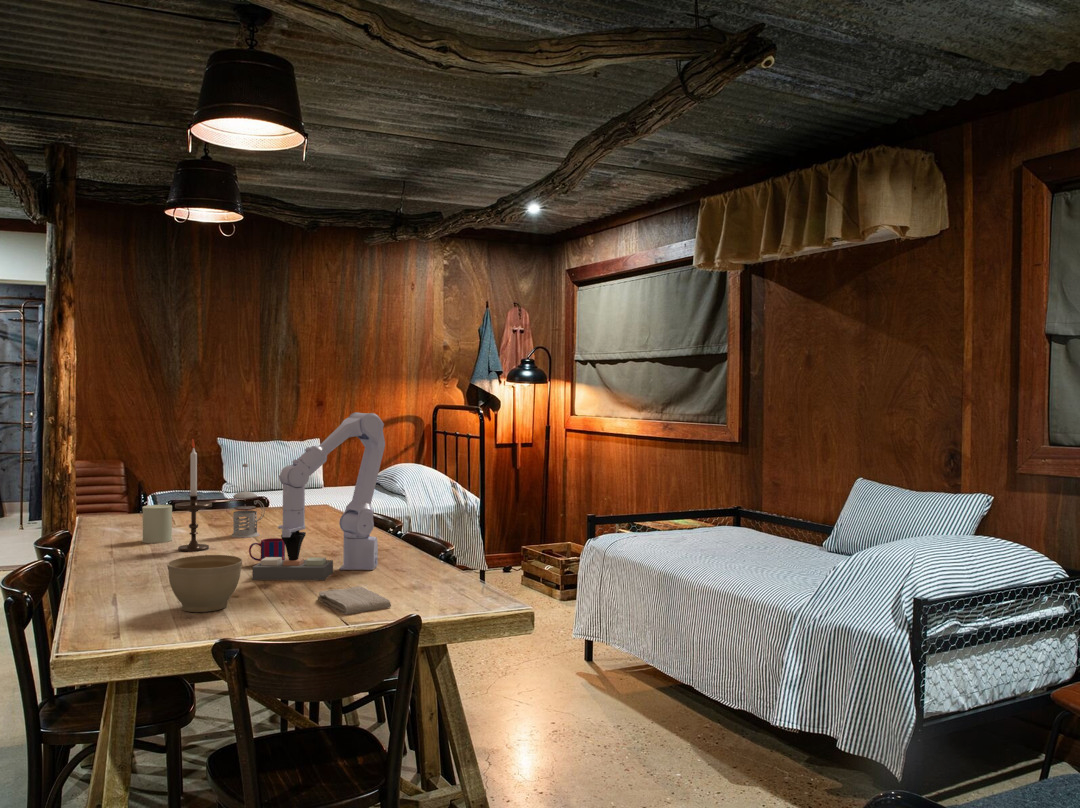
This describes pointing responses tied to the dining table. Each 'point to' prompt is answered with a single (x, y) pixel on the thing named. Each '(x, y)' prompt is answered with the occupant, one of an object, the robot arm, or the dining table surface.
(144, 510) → the can
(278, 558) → the cream key
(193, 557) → the planter bowl
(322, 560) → the sage key
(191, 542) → the candlestick
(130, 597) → the dining table surface
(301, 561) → the terracotta key
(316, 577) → the key panel
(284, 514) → the robot arm
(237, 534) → the french press
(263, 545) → the mug
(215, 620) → the dining table surface
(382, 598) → the washcloth
